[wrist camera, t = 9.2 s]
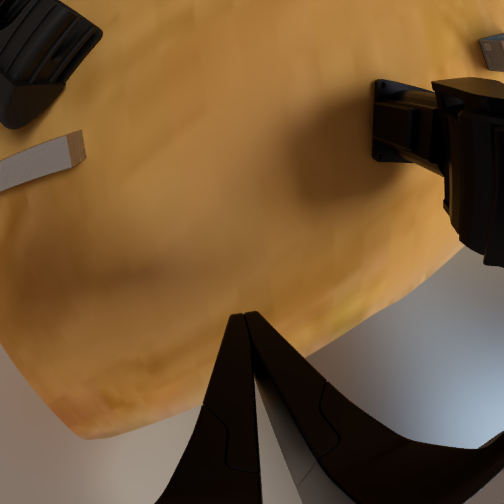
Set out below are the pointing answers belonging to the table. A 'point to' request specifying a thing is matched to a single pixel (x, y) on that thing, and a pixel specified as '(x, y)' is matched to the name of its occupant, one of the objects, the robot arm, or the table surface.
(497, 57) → the label tape box
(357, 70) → the table surface
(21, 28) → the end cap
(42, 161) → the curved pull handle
